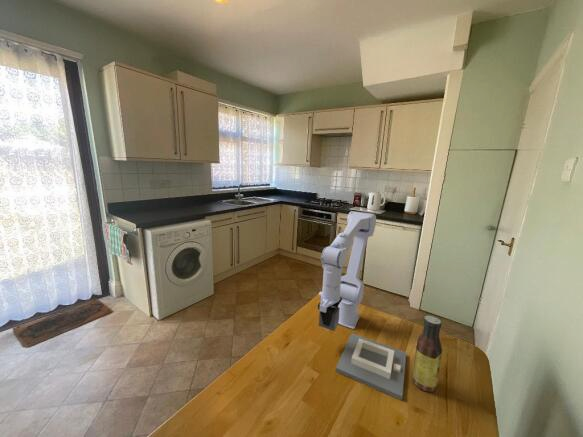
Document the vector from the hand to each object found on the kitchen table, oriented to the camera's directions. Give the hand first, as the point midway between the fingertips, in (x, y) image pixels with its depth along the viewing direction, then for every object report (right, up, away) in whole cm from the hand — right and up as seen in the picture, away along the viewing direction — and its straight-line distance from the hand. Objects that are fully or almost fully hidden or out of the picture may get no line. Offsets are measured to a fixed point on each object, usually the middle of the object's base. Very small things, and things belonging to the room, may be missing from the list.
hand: (328, 320), depth 79 cm
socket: (+13, -11, -5) cm, 18 cm away
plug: (0, -3, 0) cm, 3 cm away
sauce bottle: (+25, -13, -12) cm, 30 cm away
